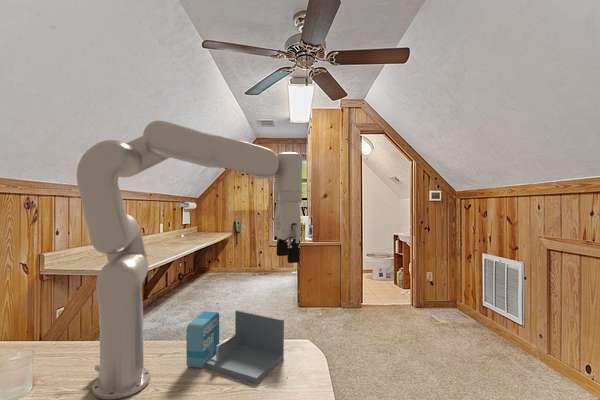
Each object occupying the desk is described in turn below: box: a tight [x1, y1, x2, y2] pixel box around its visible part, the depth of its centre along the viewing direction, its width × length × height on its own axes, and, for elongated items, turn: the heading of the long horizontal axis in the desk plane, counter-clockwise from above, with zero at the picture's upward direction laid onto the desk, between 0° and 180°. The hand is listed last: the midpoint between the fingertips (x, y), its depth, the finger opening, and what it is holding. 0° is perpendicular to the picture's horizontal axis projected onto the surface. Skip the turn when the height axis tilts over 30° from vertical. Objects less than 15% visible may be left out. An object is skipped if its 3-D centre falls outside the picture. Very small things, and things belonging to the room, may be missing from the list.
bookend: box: [210, 332, 241, 362], centre depth 97 cm, size 3×10×4 cm, turn 154°
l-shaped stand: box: [205, 309, 285, 385], centre depth 94 cm, size 16×14×12 cm
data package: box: [185, 310, 220, 369], centre depth 96 cm, size 12×4×12 cm, turn 171°
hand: (287, 258), depth 94 cm, fingers open, 9 cm apart
